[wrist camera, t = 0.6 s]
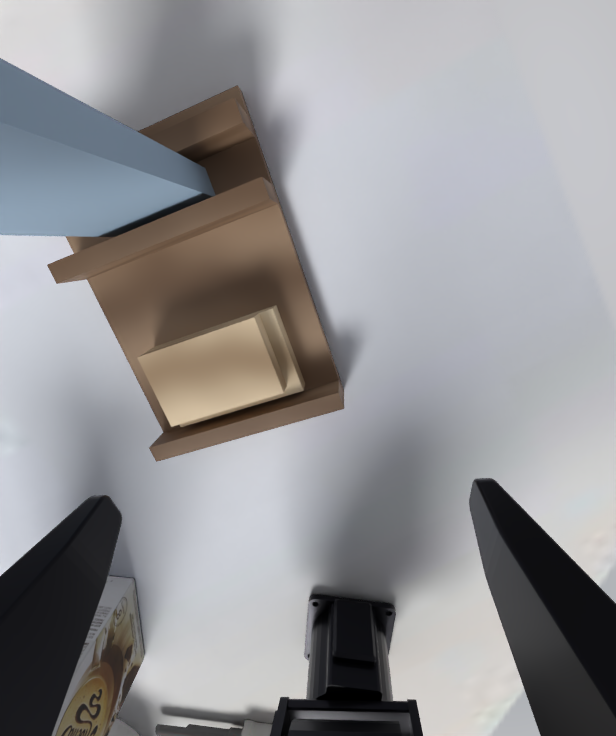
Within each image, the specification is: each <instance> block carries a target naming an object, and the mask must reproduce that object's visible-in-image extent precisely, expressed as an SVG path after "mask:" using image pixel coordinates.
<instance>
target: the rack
mask: <svg viewBox="0 0 616 736" xmlns="http://www.w3.org/2000/svg"><path fill="white" fill-rule="evenodd" d="M138 132H139V133H141V134H143V135H144V136H146V137H148V138H150V139H152V140H154V141H156V142H158V143H159V144H161V145H163V146H165V147H167V148H169V149H171V150H172V151H174V152H176V153H178V154H180V155H182V156H184V157H186V158H187V159H189V160H191V161H193V162H195V163H197V164H199V165H200V166H202V167H204V168H205V169H206V171H207V174H208V177H209V179H210V182H211V184H212V187H213V190H214V192H215V195H216V196H213V197H211V198H208V199H206V200H203V201H201V202H199V203H196V204H194V205H191V206H189V207H186V208H184V209H182V210H179V211H177V212H174V213H172V214H169V215H167V216H165V217H162V218H160V219H157V220H155V221H152V222H150V223H148V224H145V225H143V226H140V227H138V228H136V229H133V230H131V231H128V232H126V233H123V234H121V235H119V236H116V237H81V236H66V238H67V240H68V242H69V244H70V246H71V248H72V250H73V252H74V254H72V255H70V256H68V257H65V258H63V259H60V260H58V261H55V262H53V263H51V264H48V265H47V266H48V268H49V270H50V271H51V273H52V275H53V277H54V279H55V281H56V283H57V284H58V283H65V282H72V281H78V280H85V279H87V280H88V282H89V284H90V286H91V288H92V290H93V292H94V294H95V296H96V298H97V300H98V302H99V304H100V306H101V308H102V310H103V312H104V314H105V316H106V318H107V320H108V322H109V324H110V326H111V328H112V330H113V332H114V334H115V336H116V338H117V340H118V342H119V344H120V346H121V348H122V350H123V352H124V354H125V356H126V358H127V360H128V362H129V364H130V366H131V368H132V370H133V372H134V374H135V376H136V378H137V380H138V382H139V384H140V386H141V388H142V390H143V392H144V394H145V396H146V398H147V400H148V402H149V404H150V406H151V408H152V410H153V412H154V414H155V416H156V418H157V420H158V422H159V424H160V426H161V428H162V430H163V434H162V435H161V436H160V437H159V438H158V439H157V440H156V441H155V442H154V443H153V444H152V445H151V446H150V447H149V449H150V450H151V452H152V454H153V456H154V458H155V460H156V462H157V461H161V460H164V459H168V458H171V457H175V456H178V455H182V454H185V453H189V452H192V451H196V450H199V449H203V448H207V447H210V446H214V445H217V444H221V443H224V442H228V441H231V440H235V439H238V438H242V437H245V436H249V435H252V434H256V433H260V432H263V431H267V430H270V429H274V428H277V427H281V426H284V425H288V424H291V423H295V422H298V421H302V420H305V419H309V418H313V417H316V416H320V415H323V414H327V413H330V412H334V411H337V410H341V409H344V389H343V386H342V383H341V380H340V377H339V374H338V372H337V369H336V366H335V363H334V360H333V357H332V354H331V351H330V348H329V345H328V342H327V339H326V337H325V334H324V331H323V328H322V325H321V322H320V319H319V316H318V313H317V310H316V307H315V304H314V302H313V299H312V296H311V293H310V290H309V287H308V284H307V281H306V278H305V275H304V272H303V269H302V266H301V264H300V261H299V258H298V255H297V252H296V249H295V246H294V243H293V240H292V237H291V234H290V231H289V229H288V226H287V223H286V220H285V217H284V214H283V211H282V208H281V205H280V202H279V199H278V196H277V193H276V191H275V188H274V185H273V182H272V179H271V176H270V173H269V170H268V167H267V164H266V161H265V158H264V156H263V153H262V150H261V147H260V144H259V141H258V138H257V135H256V132H255V129H254V126H253V123H252V121H251V118H250V115H249V112H248V109H247V106H246V103H245V100H244V97H243V94H242V91H241V90H240V88H239V87H238V85H237V86H235V87H233V88H231V89H229V90H226V91H224V92H222V93H220V94H218V95H216V96H214V97H211V98H209V99H207V100H205V101H203V102H201V103H198V104H196V105H194V106H192V107H190V108H188V109H185V110H183V111H181V112H179V113H177V114H175V115H173V116H170V117H168V118H166V119H164V120H162V121H160V122H157V123H155V124H153V125H151V126H149V127H147V128H144V129H142V130H140V131H138ZM275 305H276V306H277V309H278V311H279V314H280V317H281V319H282V322H283V325H284V328H285V330H286V333H287V336H288V338H289V341H290V344H291V346H292V349H293V352H294V355H295V357H296V360H297V363H298V365H299V368H300V371H301V373H302V376H303V379H304V382H305V387H304V390H303V391H301V392H298V393H294V394H291V395H288V396H284V397H281V398H278V399H274V400H271V401H268V402H264V403H261V404H258V405H254V406H251V407H247V408H244V409H241V410H237V411H234V412H231V413H227V414H224V415H221V416H217V417H214V418H210V419H207V420H204V421H200V422H197V423H194V424H190V425H187V426H184V427H180V425H176V426H173V427H171V425H170V423H169V421H168V419H167V417H166V415H165V413H164V411H163V409H162V407H161V405H160V403H159V401H158V399H157V397H156V395H155V393H154V391H153V389H152V387H151V385H150V383H149V381H148V379H147V377H146V375H145V373H144V371H143V368H142V366H141V364H140V362H139V360H138V358H137V357H139V356H140V355H142V354H144V353H145V352H146V351H148V350H150V349H152V348H153V347H156V346H159V345H162V344H165V343H168V342H170V341H173V340H176V339H179V338H182V337H185V336H188V335H191V334H194V333H197V332H200V331H202V330H205V329H208V328H211V327H214V326H217V325H220V324H223V323H226V322H229V321H231V320H234V319H237V318H240V317H243V316H246V315H249V314H252V313H255V312H258V311H260V310H263V309H266V308H269V307H272V306H275Z"/></svg>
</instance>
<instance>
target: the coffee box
mask: <svg viewBox="0 0 616 736" xmlns="http://www.w3.org/2000/svg"><path fill="white" fill-rule="evenodd" d="M143 659H144V650H143V643H142V635H141V627H140V619H139V612H138V604H137V596H136V588H135V580H134V579H133V578H125V577H115V576H108V578H107V581H106V584H105V587H104V590H103V593H102V596H101V599H100V602H99V605H98V607H97V610H96V613H95V616H94V619H93V621H92V624H91V627H90V630H89V633H88V635H87V638H86V641H85V644H84V647H83V649H82V652H81V655H80V658H79V661H78V663H77V666H76V669H75V672H74V675H73V677H72V680H71V683H70V686H69V689H68V692H67V694H66V697H65V700H64V703H63V706H62V708H61V711H60V714H59V717H58V720H57V722H56V725H55V728H54V731H53V734H52V736H108V734H109V732H110V730H111V728H112V725H113V723H114V721H115V719H116V717H117V715H118V713H119V710H120V708H121V706H122V704H123V702H124V700H125V698H126V696H127V694H128V691H129V689H130V687H131V685H132V683H133V681H134V679H135V677H136V674H137V672H138V670H139V668H140V666H141V664H142V662H143Z"/></svg>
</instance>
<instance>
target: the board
mask: <svg viewBox="0 0 616 736" xmlns="http://www.w3.org/2000/svg"><path fill="white" fill-rule="evenodd" d="M213 196H216V195H215V192H214V190H213V187H212V184H211V182H210V179H209V177H208V174H207V171H206V169H205V168H204V167H202V166H200V165H199V164H197V163H195V162H193V161H191V160H189V159H187V158H186V157H184V156H182V155H180V154H178V153H176V152H174V151H172V150H171V149H169V148H167V147H165V146H163V145H161V144H159V143H158V142H156V141H154V140H152V139H150V138H148V137H146V136H144V135H143V134H141V133H139V132H137V131H135V130H133V129H131V128H130V127H128V126H126V125H124V124H122V123H120V122H118V121H117V120H115V119H113V118H111V117H109V116H107V115H105V114H103V113H102V112H100V111H98V110H96V109H94V108H92V107H90V106H89V105H87V104H85V103H83V102H81V101H79V100H77V99H75V98H74V97H72V96H70V95H68V94H66V93H64V92H62V91H61V90H59V89H57V88H55V87H53V86H51V85H49V84H47V83H46V82H44V81H42V80H40V79H38V78H36V77H34V76H33V75H31V74H29V73H27V72H25V71H23V70H21V69H20V68H18V67H16V66H14V65H12V64H10V63H8V62H6V61H5V60H3V59H1V58H0V235H28V236H81V237H116V236H119V235H121V234H123V233H126V232H128V231H131V230H133V229H136V228H138V227H140V226H143V225H145V224H148V223H150V222H152V221H155V220H157V219H160V218H162V217H165V216H167V215H169V214H172V213H174V212H177V211H179V210H182V209H184V208H186V207H189V206H191V205H194V204H196V203H199V202H201V201H203V200H206V199H208V198H211V197H213Z"/></svg>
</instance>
